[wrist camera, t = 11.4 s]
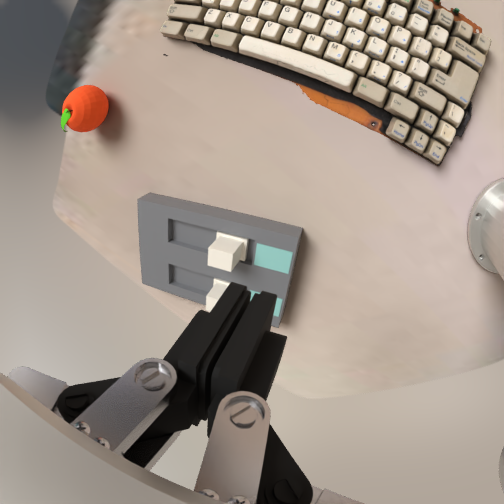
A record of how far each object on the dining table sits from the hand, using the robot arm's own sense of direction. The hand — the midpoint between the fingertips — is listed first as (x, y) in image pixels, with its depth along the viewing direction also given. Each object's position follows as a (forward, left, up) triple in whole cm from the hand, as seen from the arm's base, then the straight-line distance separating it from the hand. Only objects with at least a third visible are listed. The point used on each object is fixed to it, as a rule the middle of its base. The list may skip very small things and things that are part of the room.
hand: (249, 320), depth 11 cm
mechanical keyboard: (+3, -17, -28) cm, 33 cm away
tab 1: (+9, +11, -25) cm, 29 cm away
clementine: (+33, -4, -27) cm, 43 cm away
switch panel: (+12, +15, -27) cm, 33 cm away
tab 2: (+9, +18, -25) cm, 32 cm away
